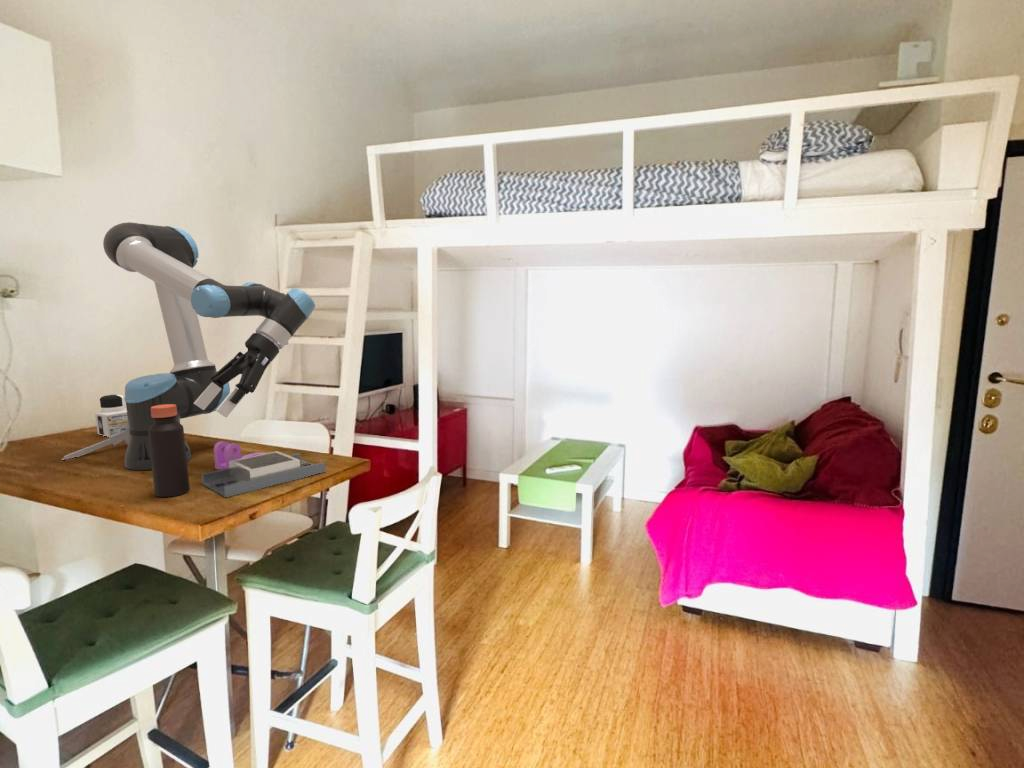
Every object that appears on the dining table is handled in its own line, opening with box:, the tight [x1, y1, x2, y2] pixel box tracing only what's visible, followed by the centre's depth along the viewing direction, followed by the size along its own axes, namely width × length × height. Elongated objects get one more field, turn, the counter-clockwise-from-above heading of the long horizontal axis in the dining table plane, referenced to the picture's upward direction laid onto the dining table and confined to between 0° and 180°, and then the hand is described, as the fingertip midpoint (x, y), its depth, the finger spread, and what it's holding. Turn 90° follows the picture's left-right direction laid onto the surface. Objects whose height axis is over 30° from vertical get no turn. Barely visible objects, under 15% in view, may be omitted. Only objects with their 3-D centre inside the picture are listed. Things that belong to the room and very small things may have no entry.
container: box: [94, 394, 129, 438], centre depth 184 cm, size 8×8×13 cm
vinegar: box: [148, 404, 190, 498], centre depth 126 cm, size 7×7×20 cm
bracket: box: [213, 440, 266, 470], centre depth 150 cm, size 13×6×7 cm, turn 153°
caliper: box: [61, 426, 130, 460], centre depth 162 cm, size 20×1×6 cm, turn 154°
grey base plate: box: [201, 450, 326, 498], centre depth 137 cm, size 14×24×4 cm, turn 137°
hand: (209, 410), depth 131 cm, fingers open, 13 cm apart
